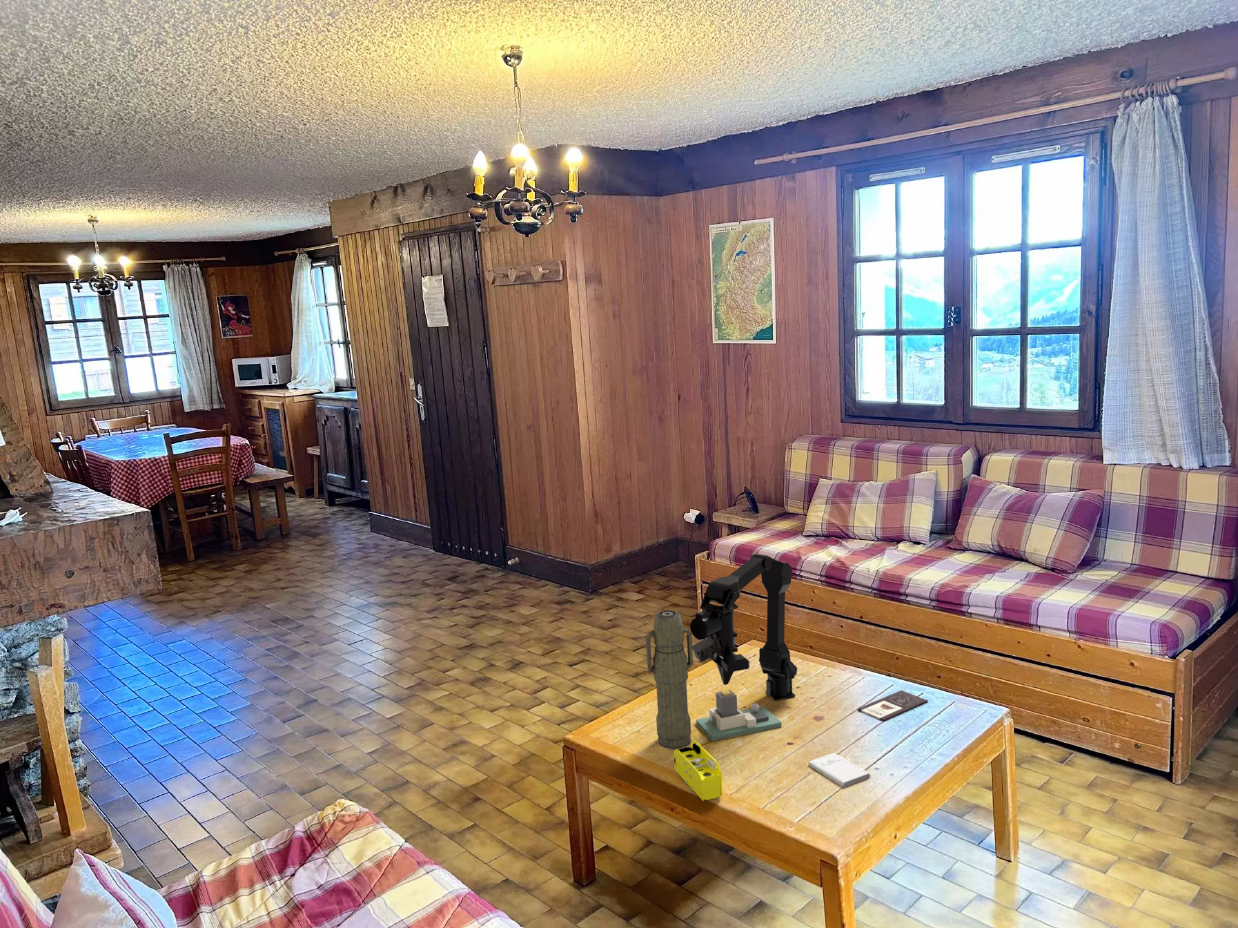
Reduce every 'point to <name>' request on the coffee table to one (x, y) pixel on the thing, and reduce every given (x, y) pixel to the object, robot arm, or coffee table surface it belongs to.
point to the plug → (726, 703)
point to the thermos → (671, 678)
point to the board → (738, 723)
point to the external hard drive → (839, 769)
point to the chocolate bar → (892, 705)
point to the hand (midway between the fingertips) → (725, 684)
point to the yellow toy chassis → (699, 771)
